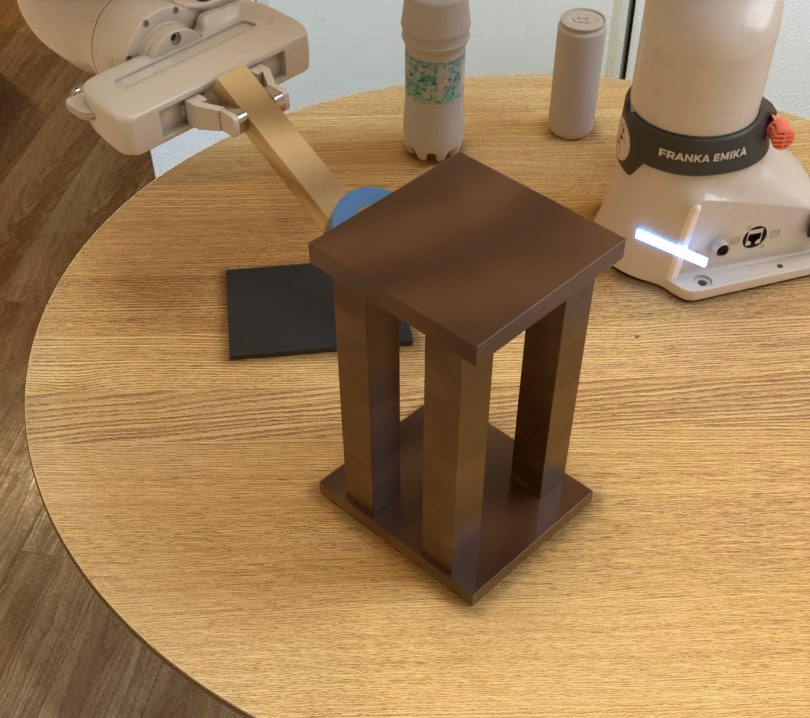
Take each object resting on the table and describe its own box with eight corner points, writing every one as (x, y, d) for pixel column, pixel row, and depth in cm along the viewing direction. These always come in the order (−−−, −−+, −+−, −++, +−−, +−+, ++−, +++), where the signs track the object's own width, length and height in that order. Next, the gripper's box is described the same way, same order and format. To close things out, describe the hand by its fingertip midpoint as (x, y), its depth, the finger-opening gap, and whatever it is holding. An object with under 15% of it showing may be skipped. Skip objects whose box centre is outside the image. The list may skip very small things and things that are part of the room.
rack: (319, 491, 90) (296, 236, 72) (440, 401, 97) (448, 145, 78) (471, 606, 83) (490, 355, 65) (591, 501, 90) (640, 245, 71)
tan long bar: (187, 103, 92) (198, 69, 88) (262, 66, 96) (276, 32, 92) (359, 319, 93) (377, 294, 89) (427, 274, 96) (447, 248, 92)
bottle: (474, 161, 119) (484, -36, 104) (411, 172, 118) (412, -26, 102) (453, 127, 123) (460, -68, 108) (393, 137, 122) (391, -58, 107)
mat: (396, 260, 109) (396, 256, 108) (413, 344, 101) (413, 340, 101) (226, 274, 108) (225, 269, 107) (230, 360, 100) (229, 356, 100)
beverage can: (590, 143, 121) (605, 33, 112) (544, 138, 122) (555, 28, 113) (594, 119, 124) (609, 9, 115) (550, 114, 125) (561, 4, 116)
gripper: (45, 63, 92) (154, 130, 86) (240, -24, 101) (351, 31, 95) (63, 134, 97) (167, 203, 91) (248, 46, 106) (353, 102, 100)
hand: (263, 114), depth 93 cm, fingers closed on tan long bar, 3 cm apart
